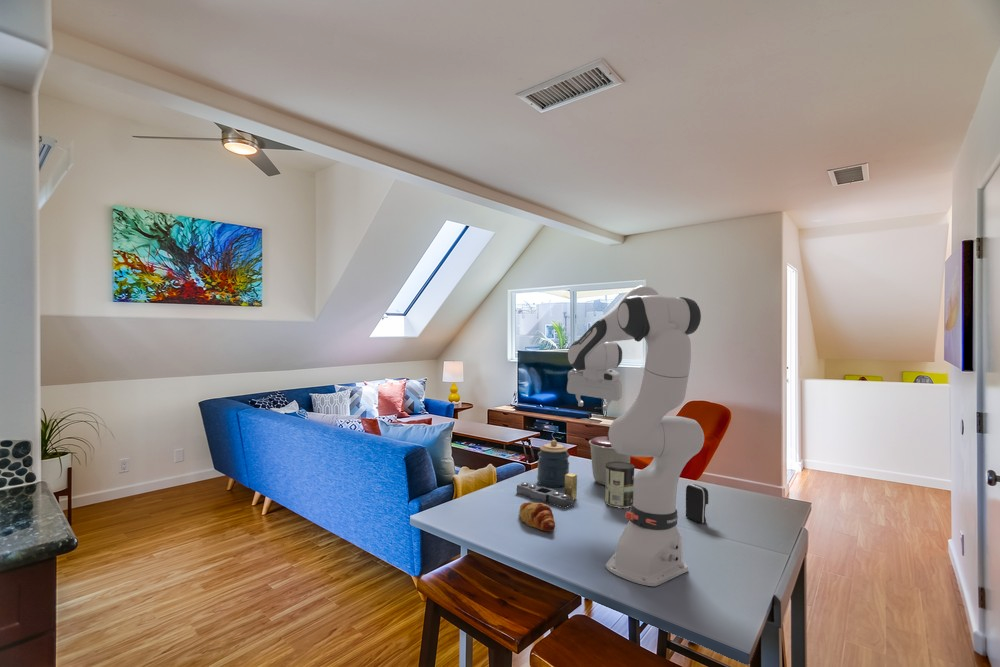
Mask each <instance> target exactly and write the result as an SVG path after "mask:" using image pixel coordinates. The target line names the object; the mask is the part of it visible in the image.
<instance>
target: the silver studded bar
mask: <svg viewBox="0 0 1000 667" xmlns="http://www.w3.org/2000/svg"><path fill="white" fill-rule="evenodd" d="M516 494H518V495H521V496H523V497H524V496H525V497H528V498H530V499H531V500H534V501H537V502H539V501H540V502H539V503H543V504H549V503H551V504H550V505H553V504H555V505H554V506H556V505H558V506H557V507H559V506H561V507H560V508H562V507H564V508H563V509H566V508H565V507H567V506H569V505H571V504H573V503H574V500H573V496H570V495H567V494H564V493H562V492H561V491H558V490H556V489H553V488H551V487H547V486H543V485H541V486H539V485H536V484H532V483H529V482H525V481H524V482H521V483H519V484H516ZM547 502H548V503H547ZM571 506H572V505H571ZM569 507H570V506H569ZM567 508H568V507H567Z"/></svg>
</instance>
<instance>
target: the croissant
mask: <svg viewBox="0 0 1000 667" xmlns="http://www.w3.org/2000/svg"><path fill="white" fill-rule="evenodd" d="M518 513H519V516H520V521H521V522H522V523H525V524H526V525H527V526H529V527H531V528H534V529H538V530H539V531H544V532H551V531H553V530H555V529H556V522H555V519H554V514H553V510H552V508H551V507H550V506H549V505H548V504H546V503H543V502H531V501H529V502H524V503H521V505H520V507H519V512H518Z"/></svg>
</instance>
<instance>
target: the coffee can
mask: <svg viewBox="0 0 1000 667" xmlns="http://www.w3.org/2000/svg"><path fill="white" fill-rule="evenodd" d="M635 470H636V467H635V465H634V464H633V463H631V462H630V463H626V462H619V461H613V462H607V463H606V485H604V486H605V490H604V491H605V492H604V493H605V494H604V495H605V496H604V497H605V498H604V503H605V505H607V504H608V505H610V506H609V507H611V506H614V507H620V508H619V509H622V508H624V509H630V508H629V507H631V506H632V504H633V491H634V478H635ZM608 505H607V506H608ZM614 507H613V508H614Z"/></svg>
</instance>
